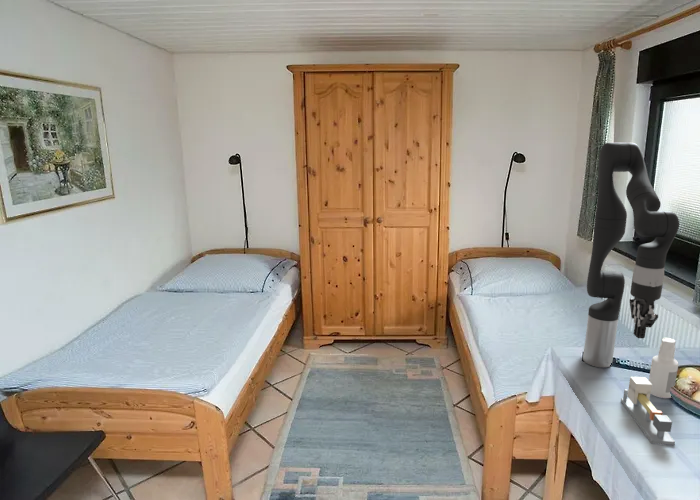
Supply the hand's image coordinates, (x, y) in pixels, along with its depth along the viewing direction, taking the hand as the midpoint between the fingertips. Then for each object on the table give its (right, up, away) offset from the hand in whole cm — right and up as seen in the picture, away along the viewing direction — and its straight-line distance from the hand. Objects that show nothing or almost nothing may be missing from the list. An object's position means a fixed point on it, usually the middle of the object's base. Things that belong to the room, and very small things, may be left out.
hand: (638, 336), depth 143 cm
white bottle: (+12, -19, +9) cm, 24 cm away
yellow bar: (-1, -20, -7) cm, 21 cm away
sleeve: (0, -19, 0) cm, 19 cm away
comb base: (-1, -23, -5) cm, 24 cm away
